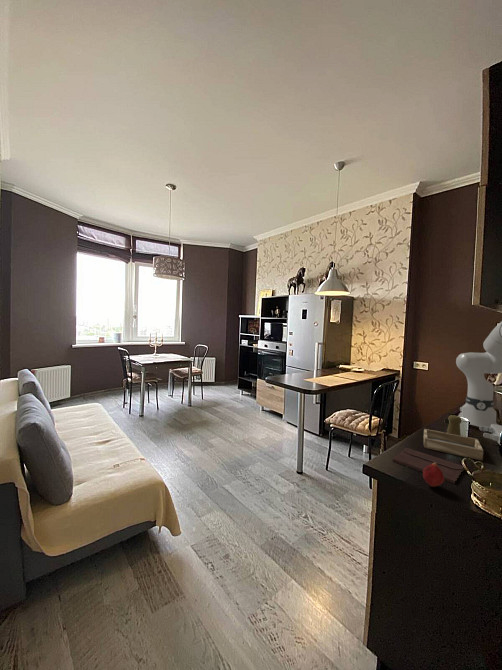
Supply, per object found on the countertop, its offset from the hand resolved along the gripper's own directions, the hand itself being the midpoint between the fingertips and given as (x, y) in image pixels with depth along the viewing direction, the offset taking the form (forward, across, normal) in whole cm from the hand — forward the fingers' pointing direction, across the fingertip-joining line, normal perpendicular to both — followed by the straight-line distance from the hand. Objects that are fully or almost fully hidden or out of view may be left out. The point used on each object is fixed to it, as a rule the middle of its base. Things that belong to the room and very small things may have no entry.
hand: (481, 431), depth 132 cm
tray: (+12, +13, +6) cm, 19 cm away
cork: (+10, 0, +6) cm, 12 cm away
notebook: (+21, +38, +7) cm, 44 cm away
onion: (+20, +54, +6) cm, 58 cm away
